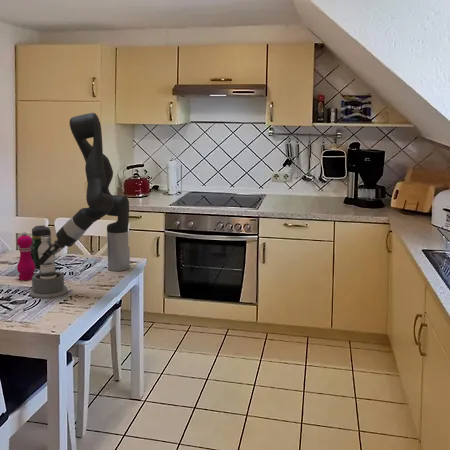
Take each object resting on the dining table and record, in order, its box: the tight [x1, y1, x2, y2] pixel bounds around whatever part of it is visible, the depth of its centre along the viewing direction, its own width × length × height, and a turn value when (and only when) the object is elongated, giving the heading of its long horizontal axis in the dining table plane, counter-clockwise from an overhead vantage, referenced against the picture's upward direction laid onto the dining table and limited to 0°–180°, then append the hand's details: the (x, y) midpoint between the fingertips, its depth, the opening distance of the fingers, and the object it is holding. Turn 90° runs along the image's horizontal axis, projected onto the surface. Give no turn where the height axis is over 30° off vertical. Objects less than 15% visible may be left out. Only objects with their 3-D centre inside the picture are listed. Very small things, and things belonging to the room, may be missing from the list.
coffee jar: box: [31, 225, 52, 269], centre depth 246 cm, size 10×8×19 cm
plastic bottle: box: [38, 235, 57, 279], centre depth 210 cm, size 6×7×20 cm
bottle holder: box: [28, 271, 68, 299], centre depth 212 cm, size 14×14×7 cm
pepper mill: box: [16, 231, 36, 281], centre depth 228 cm, size 7×7×20 cm
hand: (43, 260), depth 210 cm, fingers closed on plastic bottle, 6 cm apart
